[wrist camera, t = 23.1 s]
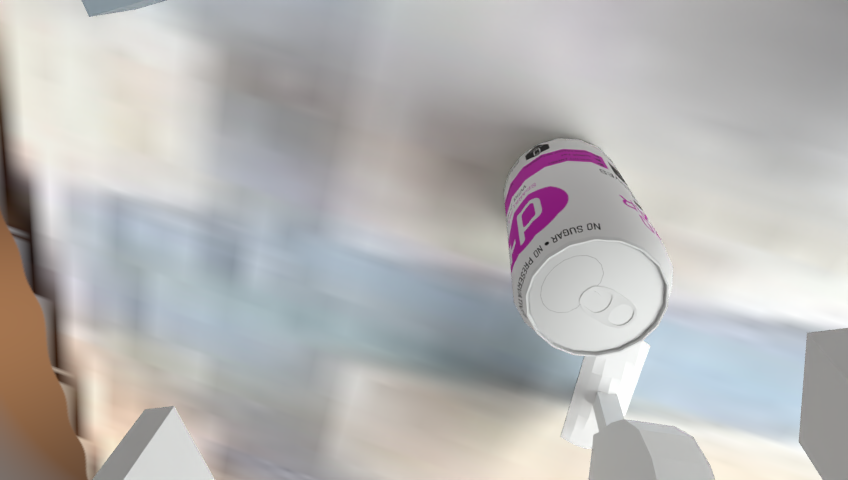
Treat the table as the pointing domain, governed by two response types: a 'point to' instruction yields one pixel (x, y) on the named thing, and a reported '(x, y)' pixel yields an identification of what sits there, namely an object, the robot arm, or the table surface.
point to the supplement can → (582, 251)
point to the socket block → (114, 5)
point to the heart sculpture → (626, 426)
